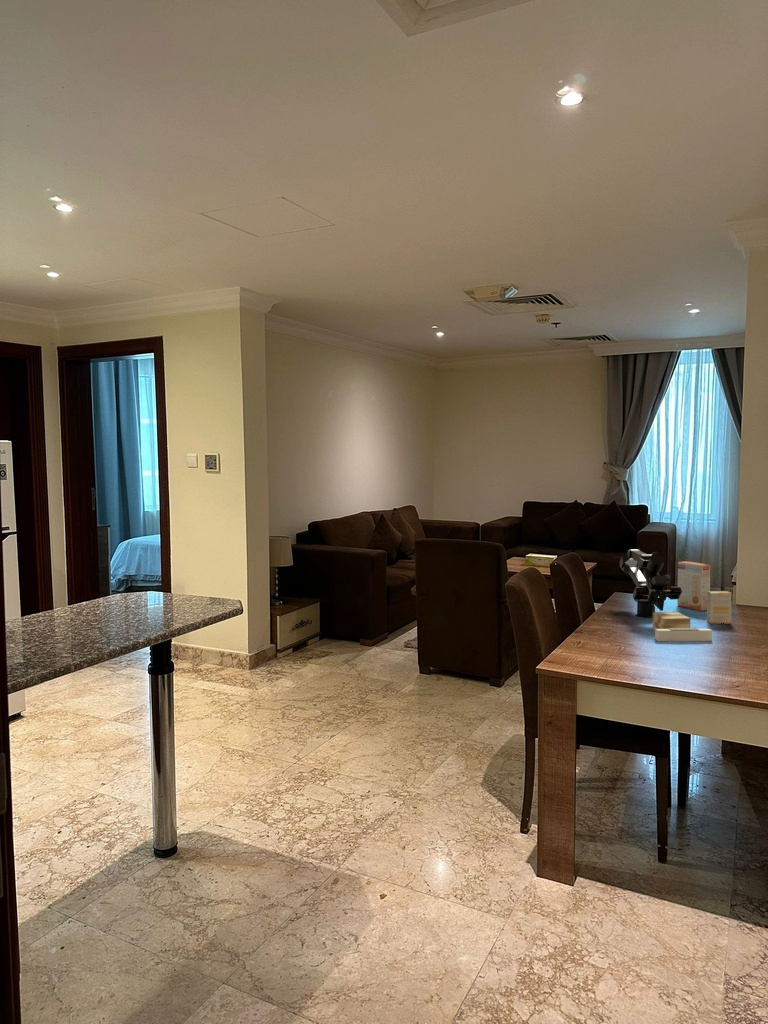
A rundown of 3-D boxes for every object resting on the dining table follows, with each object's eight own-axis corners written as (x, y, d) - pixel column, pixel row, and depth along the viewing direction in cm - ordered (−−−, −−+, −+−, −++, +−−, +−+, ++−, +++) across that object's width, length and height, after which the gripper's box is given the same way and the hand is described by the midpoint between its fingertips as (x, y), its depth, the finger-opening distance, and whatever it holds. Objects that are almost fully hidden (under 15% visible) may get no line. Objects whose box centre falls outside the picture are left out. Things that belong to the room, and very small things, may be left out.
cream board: (655, 639, 271) (655, 628, 271) (708, 638, 271) (708, 627, 270) (657, 641, 268) (658, 629, 268) (711, 640, 267) (712, 629, 267)
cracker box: (710, 610, 321) (711, 564, 320) (700, 611, 319) (701, 565, 317) (686, 605, 334) (687, 560, 333) (676, 606, 332) (677, 561, 330)
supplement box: (726, 621, 299) (727, 590, 298) (731, 624, 294) (731, 592, 293) (706, 621, 300) (706, 590, 299) (710, 624, 295) (711, 592, 294)
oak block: (652, 629, 288) (652, 612, 287) (677, 629, 288) (677, 612, 287) (664, 636, 276) (664, 618, 275) (690, 636, 276) (690, 618, 275)
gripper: (635, 567, 296) (643, 599, 286) (680, 567, 295) (690, 598, 285) (629, 583, 304) (637, 614, 294) (673, 583, 304) (682, 614, 293)
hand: (661, 610), depth 291 cm, fingers closed
